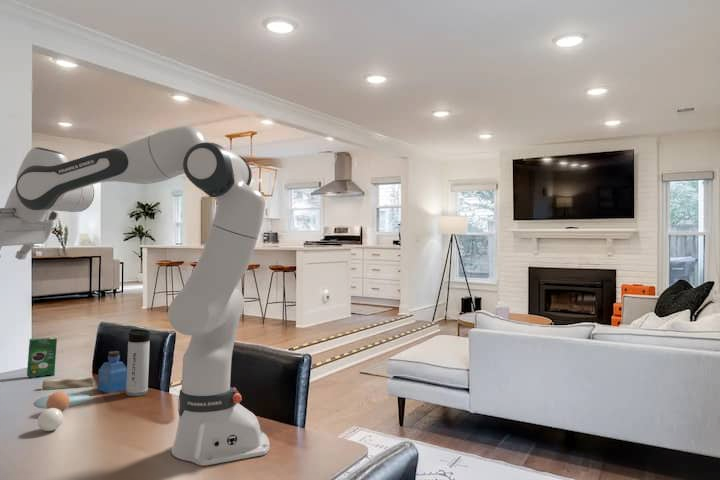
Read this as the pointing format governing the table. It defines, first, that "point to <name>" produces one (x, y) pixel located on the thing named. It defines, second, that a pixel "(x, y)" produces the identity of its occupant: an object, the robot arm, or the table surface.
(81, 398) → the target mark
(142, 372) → the travel mug
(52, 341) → the coffee box
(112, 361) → the perfume bottle
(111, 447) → the table surface
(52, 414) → the cue ball
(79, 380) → the rail
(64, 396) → the object ball
